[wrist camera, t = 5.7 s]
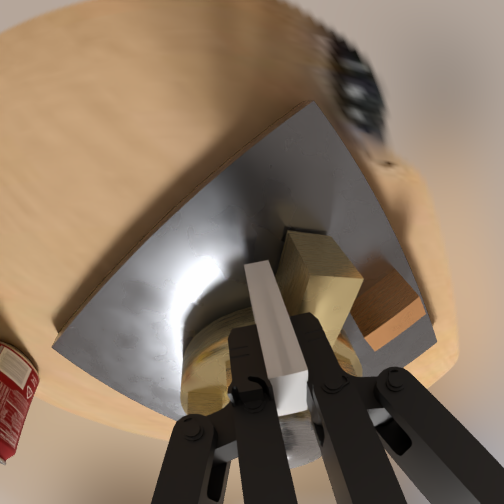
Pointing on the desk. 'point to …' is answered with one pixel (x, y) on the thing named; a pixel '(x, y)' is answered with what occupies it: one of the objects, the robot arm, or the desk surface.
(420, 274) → the desk surface
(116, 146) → the desk surface
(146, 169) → the desk surface
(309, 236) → the gold cog
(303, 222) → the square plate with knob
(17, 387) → the soda can
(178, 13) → the desk surface
